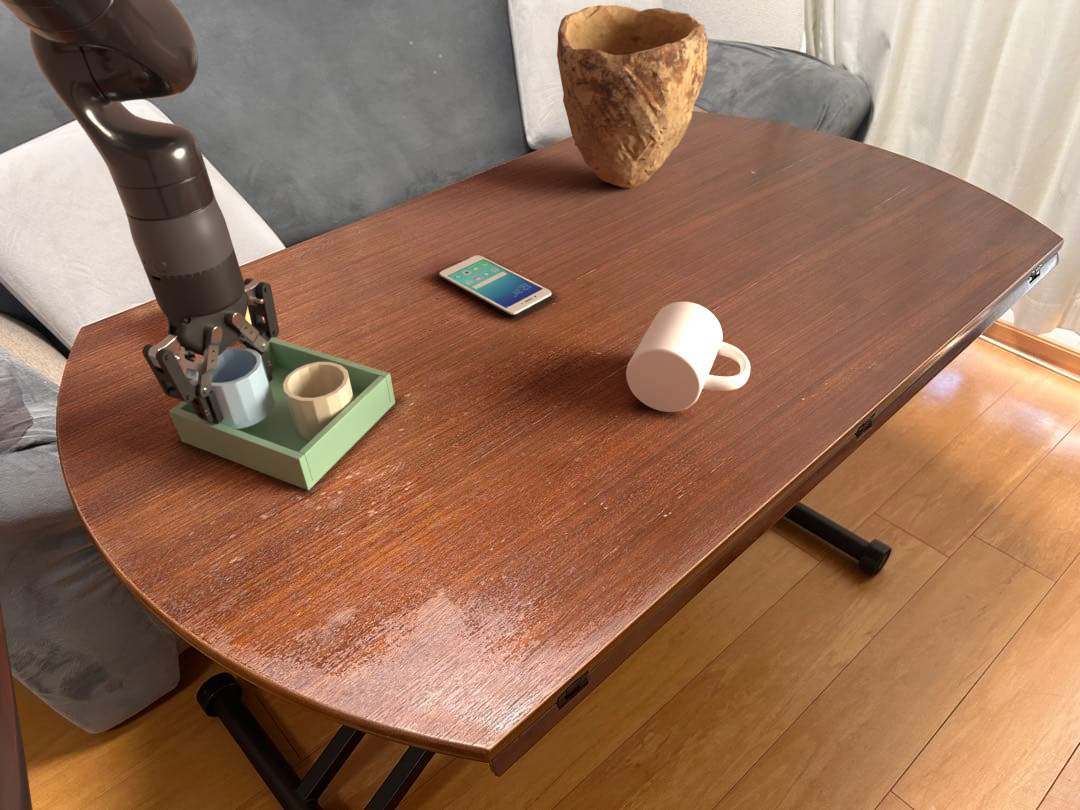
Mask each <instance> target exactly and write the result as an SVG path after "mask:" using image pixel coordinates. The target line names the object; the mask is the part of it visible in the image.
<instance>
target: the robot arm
mask: <svg viewBox="0 0 1080 810" xmlns="http://www.w3.org/2000/svg"><path fill="white" fill-rule="evenodd" d="M0 2H1V3H2V4H3V5H4V7H6V8H7V9H8V10H9V11H10V12H11V13H12V14H13V15H14V16H15V17H16V19H18V20H19V22H21V23H22V24H23V25H24V26H25V27H27V28H28V29H29V41H30V42H29V43H30V46H31V50H32V53H33V55H34V59H35V61H36V63H37V65H38V67H39V69H40V70H41V72H42V74H43V76H44V78H45V79H46V81H47V82H48V83H49V85H50V86H51V88H52V89H53V91H54V93H55V94H56V95H57V97H58V98H59V99H60V100H61V102H62V103H63V105H64V106H65V107H66V108H67V110H68V111H69V112H70V113H71V115H72V116H73V117H74V119H75V120H76V121H77V123H78V124H79V126H80V127H81V128H82V130H83V131H84V133H85V134H86V135H87V137H88V139H89V140H90V141H91V143H92V145H93V146H94V148H95V150H97V152H98V154H99V155H100V157H101V158H102V160H103V162H104V163H105V165H106V167H107V169H108V171H109V174H110V176H111V179H112V181H113V184H114V186H115V189H116V191H117V193H118V196H119V198H120V201H121V204H122V206H123V209H124V212H125V215H126V218H127V222H128V227H129V230H130V235H131V239H132V241H133V245H134V247H135V249H136V251H137V255H138V257H139V259H140V263H141V264H142V266H143V269H144V272H145V274H146V276H147V280H148V282H149V285H150V287H151V290H152V293H153V295H154V298H155V300H156V302H157V305H158V307H159V308H160V311H162V313H163V314H164V316H165V318H166V319H167V325H168V326H167V336H166V337H164V338H163V339H162V340H161V341H159V342H158V343H157V344H152V343H147V344H144V345H143V347H142V353H141V354H142V355H143V358H144V359H145V361H146V363H147V364H148V365H149V368H150V370H151V371H152V373H153V374H154V377H155V378H156V380H157V382H158V383H159V386H160V387H161V389H162V391H163V393H164V394H165V396H167V397H169V398H174V399H176V400H179V401H181V402H182V401H183V402H186V403H190V402H192V404H193V407H194V409H195V411H196V414H197V416H198V417H199V418H200V419H203V420H205V421H208V422H212V423H215V424H219V423H220V422H221V421H222V420H223V419H224V418H223V415H222V412H221V410H220V407H219V404H218V402H217V399H216V396H215V394H214V392H213V391H211V383H212V374H213V373H214V372H216V370H217V363H218V356H219V355H221V354H222V353H223V352H224V351H225V350H226V348H229V347H233V346H234V345H236V344H237V343H239V344H241V345H242V347H247V348H250V349H253V350H256V351H257V352H258V353H259V354H260V355H261V357H262V361H263V364H264V367H265V370H266V373H267V377H268V380H269V382H270V381H271V380H272V375H271V374H272V370H273V368H272V365H271V361H270V358H269V355H268V352H267V349H268V347H269V343H268V342H269V340H270V339H271V338H277V337H278V336H279V333H280V327H279V323H278V317H277V312H276V307H275V301H274V295H273V290H272V286H271V284H270V283H268V282H265V281H260V280H257V279H255V278H254V279H253V278H249V277H248V278H245V279H244V278H243V274H242V271H241V267H240V265H239V261H238V257H237V254H236V250H235V248H234V244H233V241H232V238H231V235H230V232H229V228H228V225H227V222H226V218H225V215H224V213H223V212H222V211H223V210H222V209H221V207H220V205H219V203H218V200H217V198H216V196H215V193H214V189H213V185H212V183H211V179H210V176H209V172H208V169H207V166H206V164H205V163H206V162H205V160H204V156H203V153H202V150H201V147H200V145H199V142H198V140H197V138H196V136H195V135H194V133H193V132H191V130H189V129H188V128H186V127H185V126H181V125H178V124H176V123H175V124H174V123H171V122H170V123H169V122H163V121H156V120H151V119H146V118H143V117H140V116H138V115H135V114H133V113H132V112H131V111H130V110H129V109H128V108H127V107H126V106H125V105H124V104H123V103H122V102H127V101H128V102H129V101H140V100H141V101H142V100H152V99H153V100H155V99H165V98H166V99H167V98H172V97H176V96H178V95H181V94H182V93H184V92H186V90H188V89H189V87H190V86H192V84H193V82H194V80H195V78H196V76H197V73H198V68H199V53H198V48H197V44H196V41H195V37H194V35H193V32H192V30H191V28H190V26H189V23H188V22H187V20H186V19H185V17H184V16H183V15H182V14H183V13H182V12H181V11H180V10H179V9H178V7H177V6H176V5H175V4H174V2H173V1H172V0H0ZM247 307H248V310H249V315H250V319H251V324H252V325H251V324H250V323H249V322H248V321H247V320H246V318H245V316H246V312H247ZM263 318H264V321H263ZM179 347H180V351H179ZM178 351H179V352H178ZM196 355H199V356H202V357H204V359H203V361H202V360H201V359H199V358H198V357H196ZM197 372H198V381H197V380H196V373H197ZM4 624H5V622H4V617H3V610H2V603H1V602H0V810H33V803H32V796H31V789H30V781H29V775H28V774H29V773H28V766H27V761H26V760H27V759H26V753H25V749H24V748H25V747H24V742H23V741H24V740H23V735H22V728H21V722H20V717H19V711H18V704H17V698H16V692H15V686H14V679H13V671H12V665H11V661H10V660H11V659H10V653H9V648H8V641H7V635H6V629H5V625H4Z"/></svg>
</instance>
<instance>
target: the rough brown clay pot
mask: <svg viewBox="0 0 1080 810" xmlns="http://www.w3.org/2000/svg"><path fill="white" fill-rule="evenodd" d="M556 48H557V49H556V57H557V64H558V71H559V76H560V82H561V86H562V92H563V93H562V94H563V96H562V103H563V106H564V109H565V113H566V117H567V120H568V121H567V122H568V126H569V129H570V133H571V137H572V138H573V140H574V145H575V146H576V147H577V149H578V151H579V152H580V154H581V157H582V159H583V161H584V163H585V164H586V165H587V166H588V167H589V168H590V169H591V171H592V172H593V173H594V174H595V175H596V176H597V177H598V178H599V180H601V181H603V182H605V183H609V184H611V185H613V186H617V187H619V188H622V189H625V188H626V189H628V188H631V189H633V188H635V187H639V186H640V185H642V184H644V183H646V182H648V181H649V179H650V178H651V177H652V176H653V174H654V173H655V172H657V171H658V170H659V169H660V168H661V167H662V166H663V165H664V163H665V161H666V159H667V158H669V156H670V154H671V153H672V152H673V150H674V149H676V148H677V147H678V145H679V144H680V142H681V141H682V139H683V138H684V136H685V134H686V132H687V130H688V128H689V125H690V123H691V121H692V120H693V110H694V106H695V105H696V102H697V99H698V98H699V95H700V92H701V89H702V87H703V84H704V82H705V80H706V74H707V67H708V66H707V65H708V57H709V38H708V35H707V32H706V27H705V24H702V23H700V22H699V21H698V20H697V19H696V18H695V17H694V16H692V15H691V14H690V13H688V12H687V13H685V12H681V11H675V10H670V9H665V8H662V7H655V8H647V9H643V10H640V9H637V8H632V7H628V6H623V5H618V4H617V5H615V4H614V5H602V4H599V5H593V6H587V7H584V8H582V9H580V10H578V11H575V12H572V13H569V14H566V15H564V17H563V18H562V19H561V20H560V23H559V26H558V31H557V47H556Z"/></svg>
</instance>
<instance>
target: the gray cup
mask: <svg viewBox="0 0 1080 810" xmlns="http://www.w3.org/2000/svg"><path fill="white" fill-rule="evenodd" d="M203 359H204V356H202V358H201V359H200V360H202V361H203ZM196 380H197V381H198V372H197V373H196ZM211 391H213V392H214V394H215V396H216V399H217V402H218V404H219V407H220V410H221V412H222V415H223V418H224V419H223V420H222V421H221V422H220V424H223V425H225V426H228V427H231V428H234V429H240V428H245V427H249V426H252V425H254V424H256V423H258V422H260V421H262V420H263V419H265V418H266V417H267V416H268V415H269V414H270V413H271V412H272V410H273V408H274V404H275V401H274V398H273V393H272V390H271V386H270V383H269V380H268V377H267V373H266V370H265V367H264V364H263V361H262V357H261V355H260V354H259V353H258V352H257V351H256V350H253V349H250V348H247V347H245V346H229V347H227V348H226V350H225V351H224V352H223V353H222V354H221V355H219V356H218V363H217V370H216V372H214V373H213V374H212V383H211Z"/></svg>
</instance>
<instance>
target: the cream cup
mask: <svg viewBox="0 0 1080 810" xmlns="http://www.w3.org/2000/svg"><path fill="white" fill-rule="evenodd" d="M283 389H284V394H285V397H286V401H287V404H288V407H289V411H290V414H291V417H292V421H293V424H294V428H295V429H296V432H297V434H298V435H299V436H300V437H301V438H303V439H304V440H307V441H311V440H312V439H313V438H314V437H315V436H316V435H317V434H318V433H319V432H320V431H321V430H322V429H323V428H325V427H326V426H327V425H328V424H329V423H330V422H331V421H332V420H333V419H334V418H335V417H336V416H337V415H338V414H339V413H340V412H342V411H343V410H344V409H345V408H346V407H347V406H348V405H349V404H350V403H351V402H352V401H353V400H354V397H353V393H352V388H351V384H350V379H349V375H348V371H347V370H346V369H345V368H344V367H343V366H341V365H339V364H336V363H333V362H315V363H310V364H306V365H304V366H301V367H299V368H297V369H295V370H294V371H293V372H291V373H290V374H289V375H288V376H287V377H286V379H285V381H284V383H283Z"/></svg>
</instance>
